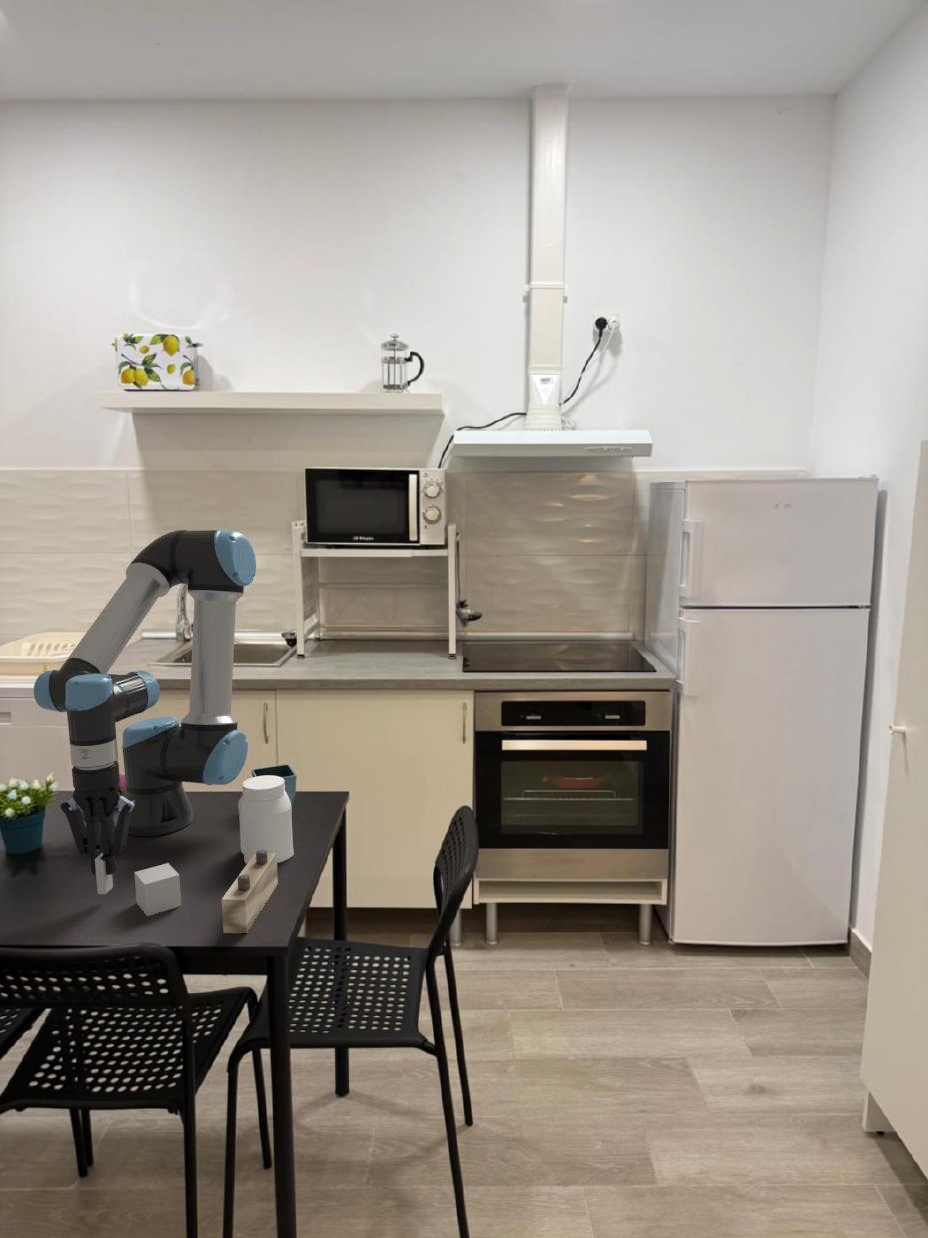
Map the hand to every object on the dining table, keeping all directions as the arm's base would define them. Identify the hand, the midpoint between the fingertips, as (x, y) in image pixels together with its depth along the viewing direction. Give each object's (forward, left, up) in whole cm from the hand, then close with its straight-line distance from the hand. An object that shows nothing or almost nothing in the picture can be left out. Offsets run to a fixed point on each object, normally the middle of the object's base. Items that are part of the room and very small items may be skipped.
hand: (105, 890), depth 153 cm
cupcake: (-20, +46, -3) cm, 50 cm away
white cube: (+10, 0, -3) cm, 10 cm away
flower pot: (+18, +45, -3) cm, 48 cm away
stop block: (+27, 0, -2) cm, 27 cm away
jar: (+23, +22, -3) cm, 32 cm away
